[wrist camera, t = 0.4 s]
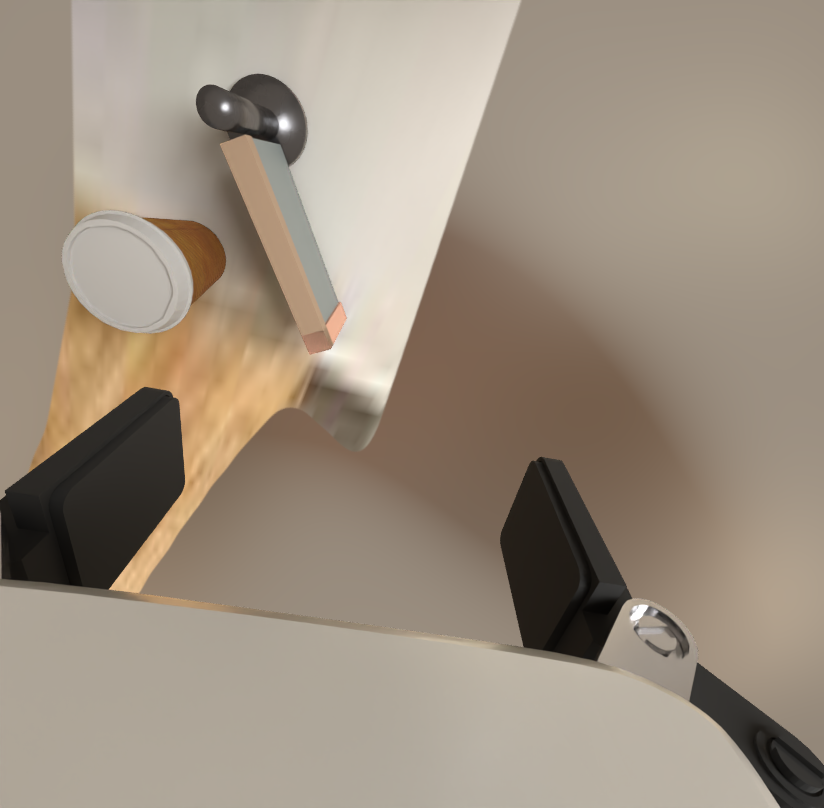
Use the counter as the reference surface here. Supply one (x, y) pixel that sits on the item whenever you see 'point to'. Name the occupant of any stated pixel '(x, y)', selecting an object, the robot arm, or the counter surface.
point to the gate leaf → (286, 238)
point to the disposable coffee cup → (140, 268)
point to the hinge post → (257, 112)
